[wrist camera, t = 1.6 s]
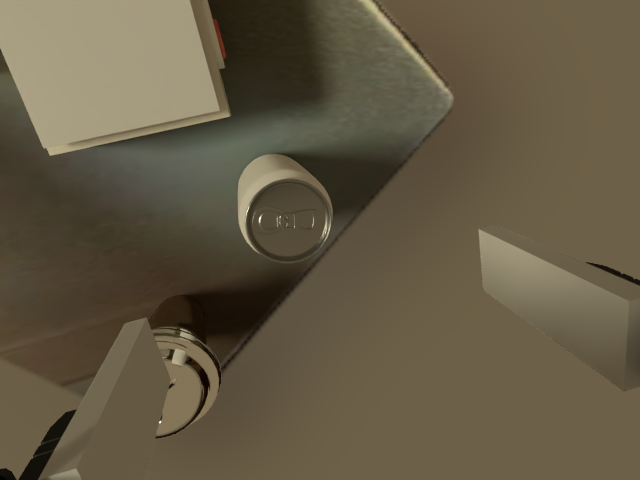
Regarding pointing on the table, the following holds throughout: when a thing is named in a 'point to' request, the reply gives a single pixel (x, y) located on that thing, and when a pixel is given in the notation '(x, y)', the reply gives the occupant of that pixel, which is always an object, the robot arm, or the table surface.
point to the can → (283, 209)
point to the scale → (113, 67)
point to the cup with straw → (184, 363)
